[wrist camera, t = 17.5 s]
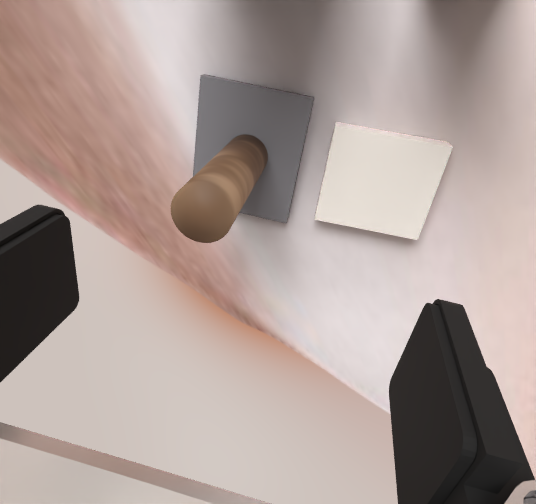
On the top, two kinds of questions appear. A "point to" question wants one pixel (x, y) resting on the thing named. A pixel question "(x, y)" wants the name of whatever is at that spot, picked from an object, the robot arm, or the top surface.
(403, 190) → the tile
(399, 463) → the robot arm
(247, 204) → the mat
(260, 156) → the dowel
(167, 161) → the top surface
